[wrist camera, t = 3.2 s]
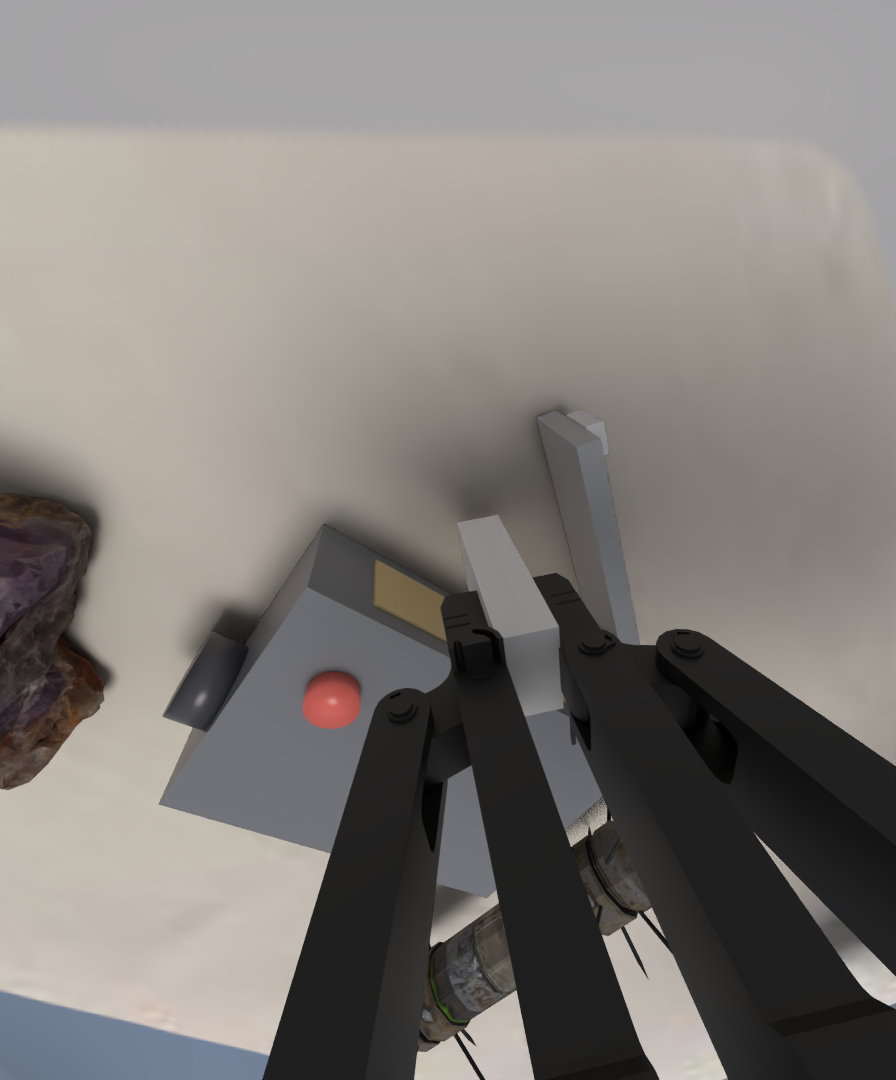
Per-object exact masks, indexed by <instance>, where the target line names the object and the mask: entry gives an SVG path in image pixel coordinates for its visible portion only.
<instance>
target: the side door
mask: <svg viewBox="0 0 896 1080" xmlns="http://www.w3.org/2000/svg"><path fill="white" fill-rule="evenodd" d="M536 418H537V422H538V426H539V430H540V434H541V438H542V442H543V446H544V450H545V454H546V458H547V462H548V466H549V469H550V473H551V477H552V481H553V485H554V489H555V493H556V497H557V501H558V505H559V509H560V513H561V517H562V521H563V525H564V529H565V533H566V537H567V541H568V545H569V549H570V553H571V557H572V561H573V565H574V569H575V573H576V577H577V581H578V585H579V589H580V593H581V597H582V601H583V603H584V604H585V606H586V607H587V609H588V610H589V612H590V613H591V615H592V616H593V618H594V619H595V621H596V622H597V624H598V625H599V627H600V628H601V629H603V630H606V631H608V632H610V633H612V634H614V635H615V636H616V637H617V638H618V639H619V640H620V641H621V642H622V643H625V644H632V645H640V642H639V636H638V631H637V626H636V621H635V615H634V610H633V605H632V600H631V594H630V589H629V584H628V579H627V573H626V568H625V563H624V558H623V552H622V547H621V542H620V537H619V531H618V526H617V521H616V516H615V510H614V505H613V500H612V495H611V489H610V484H609V479H608V473H607V468H606V463H605V458H604V455H607V454H610V453H609V448H608V442H607V437H606V432H605V426H604V421H603V420H601V419H599V418H598V417H596V416H594V415H592V414H590V413H588V412H586V411H585V410H583V409H579V410H577V411H574V412H571V413H569V414H566V416H564V415H562V414H561V413H559V412H558V411H556V410H555V411H552V412H550V413H547V414H544V415H542V416H539V417H536Z"/></svg>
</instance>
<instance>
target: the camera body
mask: <svg viewBox="0 0 896 1080" xmlns="http://www.w3.org/2000/svg"><path fill="white" fill-rule="evenodd" d="M446 596H451V594H450V593H448V592H446V591H444V590H442V589H441V588H439V587H437V586H435V585H433V584H432V583H430V582H428V581H426V580H424V579H423V578H421V577H419V576H417V575H415V574H414V573H412V572H410V571H408V570H406V569H404V568H403V567H401V566H399V565H397V564H395V563H394V562H392V561H390V560H388V559H386V558H385V557H383V556H381V555H379V554H377V553H376V552H374V551H372V550H370V549H368V548H367V547H365V546H363V545H361V544H359V543H358V542H356V541H354V540H352V539H350V538H349V537H347V536H345V535H343V534H341V533H339V532H338V531H336V530H334V529H332V528H330V527H329V526H327V525H325V524H324V525H323V526H322V528H321V529H320V531H319V532H318V534H317V535H316V537H315V538H314V540H313V541H312V543H311V544H310V546H309V547H308V549H307V550H306V552H305V553H304V555H303V556H302V558H301V559H300V561H299V562H298V564H297V565H296V567H295V568H294V570H293V571H292V573H291V574H290V576H289V577H288V579H287V581H286V582H285V584H284V585H283V587H282V588H281V590H280V591H279V593H278V594H277V596H276V597H275V599H274V600H273V602H272V603H271V605H270V606H269V608H268V609H267V611H266V612H265V614H264V615H263V617H262V618H261V620H260V621H259V623H258V624H257V626H256V627H255V629H254V630H253V632H252V633H251V635H250V636H249V638H248V639H247V641H246V642H245V644H244V645H243V644H241V643H239V642H236V641H234V640H232V639H229V638H227V637H225V636H222V635H220V634H218V633H215V632H213V631H211V633H210V634H209V635H208V637H207V638H206V640H205V642H204V643H203V645H202V646H201V648H200V650H199V651H198V653H197V655H196V656H195V658H194V660H193V661H192V663H191V665H190V666H189V668H188V670H187V672H186V673H185V675H184V677H183V679H182V680H181V682H180V684H179V686H178V687H177V689H176V691H175V693H174V695H173V696H172V698H171V700H170V702H169V704H168V706H167V708H166V710H165V712H164V714H163V717H165V718H168V719H171V720H173V721H176V722H179V723H182V724H185V725H188V726H191V727H193V729H192V731H191V733H190V735H189V737H188V740H187V742H186V744H185V746H184V749H183V751H182V753H181V755H180V758H179V760H178V762H177V764H176V767H175V769H174V771H173V773H172V776H171V778H170V780H169V782H168V784H167V787H166V789H165V791H164V793H163V796H162V798H161V800H160V802H159V805H163V806H166V807H170V808H173V809H177V810H180V811H184V812H187V813H191V814H194V815H198V816H201V817H205V818H208V819H212V820H215V821H219V822H222V823H226V824H229V825H233V826H236V827H240V828H243V829H247V830H250V831H254V832H257V833H261V834H264V835H268V836H271V837H275V838H278V839H282V840H285V841H289V842H292V843H296V844H299V845H303V846H306V847H310V848H313V849H317V850H320V851H324V852H327V853H331V851H332V848H333V845H334V841H335V838H336V835H337V831H338V828H339V825H340V822H341V818H342V815H343V812H344V808H345V805H346V802H347V798H348V795H349V792H350V788H351V785H352V782H353V779H354V775H355V772H356V769H357V765H358V762H359V759H360V755H361V752H362V749H363V746H364V742H365V739H366V736H367V732H368V729H369V726H370V722H371V719H372V716H373V713H374V710H375V708H376V706H377V704H378V702H379V701H380V700H381V699H382V698H383V697H384V696H386V695H387V694H389V693H391V692H393V691H395V690H397V689H403V688H413V689H418V690H420V691H422V692H423V693H427V692H429V691H431V690H433V689H435V688H436V687H438V686H439V685H441V684H442V683H443V682H444V681H445V680H446V678H447V677H448V675H449V674H450V670H451V660H450V655H449V650H448V644H447V639H446V634H445V629H444V624H443V619H442V614H441V609H440V607H441V605H442V603H443V600H444V598H445V597H446ZM563 706H564V708H562V709H558V710H553V711H548V712H544V713H539V714H535V715H530V716H525V718H526V721H527V724H528V727H529V729H530V732H531V735H532V738H533V741H534V744H535V747H536V749H537V752H538V755H539V758H540V761H541V764H542V766H543V769H544V772H545V775H546V778H547V781H548V784H549V786H550V789H551V792H552V795H553V798H554V801H555V803H556V806H557V809H558V812H559V815H560V818H561V821H562V823H563V826H564V829H566V828H567V827H568V826H569V825H571V824H572V823H573V822H574V821H575V820H576V819H577V818H579V817H580V816H581V815H582V814H583V813H584V812H585V811H587V810H588V809H589V808H590V807H591V806H592V805H593V804H595V803H596V802H597V801H598V800H599V799H600V798H601V797H603V796H602V794H601V791H600V789H599V787H598V785H597V782H596V780H595V778H594V776H593V773H592V771H591V769H590V767H589V764H588V762H587V760H586V758H585V755H584V753H583V751H582V749H581V746H580V744H579V742H578V740H577V737H576V745H572V743H571V737H570V717H569V706H568V704H567V702H566V700H565V698H564V696H563ZM436 884H440V885H443V886H447V887H450V888H454V889H457V890H461V891H464V892H468V893H471V894H475V895H478V896H482V897H485V898H487V897H488V896H490V895H491V894H492V893H493V892H494V891H495V890H496V885H495V880H494V875H493V870H492V865H491V860H490V855H489V850H488V845H487V840H486V835H485V830H484V825H483V820H482V815H481V810H480V805H479V800H478V795H477V790H476V785H475V780H474V775H473V770H472V765H471V766H469V767H468V768H466V769H464V770H462V771H461V772H459V773H457V774H455V775H454V776H452V777H450V778H449V779H448V786H447V795H446V804H445V812H444V821H443V830H442V839H441V847H440V856H439V865H438V873H437V882H436Z"/></svg>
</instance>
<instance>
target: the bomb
mask: <svg viewBox="0 0 896 1080" xmlns="http://www.w3.org/2000/svg"><path fill="white" fill-rule="evenodd" d="M571 849H572V852H573V855H574V858H575V860H576V863H577V866H578V869H579V872H580V875H581V877H582V880H583V883H584V886H585V889H586V892H587V895H588V897H589V900H590V903H591V906H592V909H593V912H594V915H595V917H596V920H597V923H598V926H599V929H600V932H601V934H602V935H606V936H609V935H611V934H612V933H614V932H615V931H617V930H619V929H620V928H621V929H622V931H623V933H624V935H625V938H626V940H627V942H628V944H629V946H630V948H631V950H632V952H633V954H634V956H635V958H636V960H637V962H638V964H639V966H640V967H641V969H642V970H643V972H644V973H645V975H646V976H647V974H646V972H645V969H644V967H643V964H642V962H641V960H640V957H639V955H638V953H637V951H636V949H635V947H634V945H633V943H632V941H631V939H630V937H629V935H628V933H627V931H626V929H625V927H624V926H625V925H626V924H628V923H629V922H631V921H633V920H634V919H636V918H637V914H638V913H639V914H640V915H641V916H642V918H643V919H644V920H645V921H646V922H647V924H648V925H649V926H650V927H651V929H652V930H653V931H654V932H655V933H656V935H657V936H658V937H659V938H660V939H661V941H662V942H663V943H664V944H665V946H666V947H667V948H668V949H669V950H670V952H671V953H672V951H671V949H670V947H669V944H668V942H667V940H666V939H665V938H664V936H663V935H662V934H661V933H660V932H659V931H658V929H657V928H656V927H655V926H654V925H653V923H652V922H651V921H650V920H649V919H648V918H647V916H646V915H645V914H644V912H645V911H647V910H648V909H650V908H651V907H652V906H651V904H650V902H649V899H648V897H647V895H646V893H645V890H644V888H643V886H642V884H641V881H640V879H639V877H638V875H637V872H636V870H635V868H634V866H633V863H632V861H631V859H630V857H629V854H628V852H627V850H626V848H625V845H624V843H623V841H622V839H621V836H620V834H619V832H618V830H617V827H616V825H615V823H614V822H613V821H611V814H610V812H609V809H608V807H607V822H606V823H605V824H604V825H602V826H601V827H599V828H598V829H597V830H595V831H594V833H593V835H591V831H590V827H589V829H588V835H587V836H586V837H584V838H583V839H582V840H580V841H579V842H577V843H576V844H575V845H573V846H572V847H571ZM672 954H673V953H672ZM647 978H648V977H647ZM648 980H649V979H648ZM516 990H517V989H516V984H515V979H514V974H513V969H512V964H511V959H510V954H509V949H508V944H507V939H506V934H505V929H504V924H503V919H502V914H501V909H500V905H499V904H497V905H496V906H494V907H493V908H492V909H490V910H489V911H487V912H486V913H485V914H483V915H482V916H480V917H479V918H478V919H476V920H475V921H473V922H472V923H471V924H469V925H468V926H466V927H465V928H464V929H462V930H461V931H459V932H458V933H457V934H455V935H454V936H452V937H451V938H450V939H448V940H447V941H445V942H444V943H443V942H438V943H437V944H436V945H434V946H433V947H431V946H430V943H429V952H428V961H427V969H426V978H425V987H424V995H423V1004H422V1013H421V1022H420V1030H419V1039H418V1048H417V1052H418V1051H421V1052H427V1051H429V1050H430V1049H432V1048H433V1047H435V1046H436V1045H438V1044H439V1043H440V1042H441V1041H445V1040H447V1039H449V1038H450V1037H452V1036H453V1035H454V1037H455V1039H456V1040H457V1042H458V1044H459V1045H460V1047H461V1049H462V1050H463V1052H464V1054H465V1055H466V1057H467V1059H468V1060H469V1062H470V1064H471V1065H472V1067H473V1069H474V1070H475V1072H476V1073H477V1075H478V1077H479V1078H480V1080H485V1079H484V1077H483V1075H482V1074H481V1072H480V1070H479V1069H478V1067H477V1065H476V1064H475V1062H474V1060H473V1059H472V1057H471V1056H470V1054H469V1052H468V1051H467V1049H466V1047H465V1046H464V1044H463V1042H462V1041H461V1039H460V1037H459V1036H458V1034H457V1033H458V1032H459V1031H461V1032H462V1033H463V1034H464V1035H465V1037H466V1038H467V1039H468V1040H469V1041H470V1042H471V1043H473V1044H474V1045H475V1043H474V1041H473V1040H472V1038H471V1036H470V1035H469V1034H468V1033H467V1032H466V1031H465V1030H464V1028H466V1027H467V1025H468V1024H469V1022H470V1020H471V1019H472V1018H474V1017H475V1016H477V1015H478V1014H480V1013H482V1012H483V1011H485V1010H486V1009H488V1008H489V1007H491V1006H492V1005H494V1004H495V1003H497V1002H499V1001H500V1000H502V999H503V998H505V997H506V996H508V995H509V994H511V993H513V992H514V991H516ZM475 1046H476V1045H475ZM476 1047H477V1046H476Z"/></svg>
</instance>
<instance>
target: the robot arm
mask: <svg viewBox="0 0 896 1080" xmlns="http://www.w3.org/2000/svg"><path fill="white" fill-rule="evenodd" d="M457 526H458V533H459V539H460V545H461V551H462V557H463V563H464V569H465V576H466V582H467V587H468V590H469V592H466V593H461V594H456V595H451V596H446V597H445V598H444V600H443V603H442V605H441V607H440V609H441V614H442V619H443V624H444V629H445V634H446V639H447V644H448V650H449V655H450V660H451V670H450V674H449V675H448V677H447V678H446V680H445V681H444V682H443V683H442V684H441V685H439V686H438V687H436V688H435V689H433V690H431V691H429V692H427V693H423V692H422V691H420V690H418V689H413V688H403V689H397V690H395V691H393V692H391V693H389V694H387V695H386V696H384V697H383V698H382V699H381V700H380V701H379V702H378V704H377V706H376V708H375V710H374V713H373V716H372V719H371V722H370V726H369V729H368V732H367V736H366V739H365V742H364V746H363V749H362V752H361V755H360V759H359V762H358V765H357V769H356V772H355V775H354V779H353V782H352V785H351V788H350V792H349V795H348V798H347V802H346V805H345V808H344V812H343V815H342V818H341V822H340V825H339V828H338V831H337V835H336V838H335V841H334V845H333V848H332V851H331V855H330V858H329V861H328V864H327V868H326V871H325V874H324V878H323V881H322V884H321V888H320V891H319V894H318V897H317V901H316V904H315V907H314V911H313V914H312V917H311V921H310V924H309V927H308V930H307V934H306V937H305V940H304V944H303V947H302V950H301V954H300V957H299V960H298V964H297V967H296V970H295V973H294V977H293V980H292V983H291V987H290V990H289V993H288V997H287V1000H286V1003H285V1006H284V1010H283V1013H282V1016H281V1020H280V1023H279V1026H278V1030H277V1033H276V1036H275V1039H274V1043H273V1046H272V1049H271V1053H270V1056H269V1059H268V1063H267V1066H266V1069H265V1073H264V1076H263V1079H262V1080H414V1074H415V1065H416V1056H417V1048H418V1039H419V1030H420V1022H421V1013H422V1004H423V995H424V987H425V978H426V969H427V961H428V952H429V943H430V934H431V926H432V917H433V908H434V900H435V891H436V882H437V873H438V865H439V856H440V847H441V839H442V830H443V821H444V812H445V804H446V795H447V786H448V779H449V778H450V777H452V776H454V775H455V774H457V773H459V772H461V771H462V770H464V769H466V768H468V767H469V766H471V765H472V770H473V775H474V780H475V785H476V790H477V795H478V800H479V805H480V810H481V815H482V820H483V825H484V830H485V835H486V840H487V845H488V850H489V855H490V860H491V865H492V870H493V875H494V880H495V885H496V890H497V895H498V900H499V905H500V909H501V914H502V919H503V924H504V929H505V934H506V939H507V944H508V949H509V954H510V959H511V964H512V969H513V974H514V979H515V984H516V989H517V994H518V999H519V1004H520V1009H521V1014H522V1019H523V1024H524V1029H525V1034H526V1039H527V1044H528V1049H529V1054H530V1059H531V1064H532V1069H533V1074H534V1079H535V1080H659V1077H658V1075H657V1073H656V1071H655V1069H654V1067H653V1066H652V1064H651V1063H650V1061H649V1060H648V1058H647V1057H646V1055H645V1053H644V1051H643V1049H642V1046H641V1044H640V1042H639V1039H638V1036H637V1034H636V1031H635V1028H634V1026H633V1023H632V1020H631V1017H630V1014H629V1011H628V1008H627V1006H626V1003H625V1000H624V997H623V994H622V991H621V989H620V986H619V983H618V980H617V977H616V974H615V971H614V969H613V966H612V963H611V960H610V957H609V954H608V952H607V949H606V946H605V943H604V940H603V937H602V934H601V932H600V929H599V926H598V923H597V920H596V917H595V915H594V912H593V909H592V906H591V903H590V900H589V897H588V895H587V892H586V889H585V886H584V883H583V880H582V877H581V875H580V872H579V869H578V866H577V863H576V860H575V858H574V855H573V852H572V849H571V846H570V843H569V840H568V838H567V835H566V832H565V829H564V826H563V823H562V821H561V818H560V815H559V812H558V809H557V806H556V803H555V801H554V798H553V795H552V792H551V789H550V786H549V784H548V781H547V778H546V775H545V772H544V769H543V766H542V764H541V761H540V758H539V755H538V752H537V749H536V747H535V744H534V741H533V738H532V735H531V732H530V729H529V727H528V724H527V721H526V718H525V716H530V715H535V714H539V713H544V712H548V711H553V710H558V709H562V708H564V706H563V696H564V698H565V700H566V702H567V704H568V706H569V717H570V737H571V743H572V745H576V737H577V740H578V742H579V744H580V746H581V749H582V751H583V753H584V755H585V758H586V760H587V762H588V764H589V767H590V769H591V771H592V773H593V776H594V778H595V780H596V782H597V785H598V787H599V789H600V791H601V794H602V796H603V798H604V800H605V803H606V805H607V807H608V809H609V812H610V814H611V816H612V818H613V821H614V823H615V825H616V827H617V830H618V832H619V834H620V836H621V839H622V841H623V843H624V845H625V848H626V850H627V852H628V854H629V857H630V859H631V861H632V863H633V866H634V868H635V870H636V872H637V875H638V877H639V879H640V881H641V884H642V886H643V888H644V890H645V893H646V895H647V897H648V899H649V902H650V904H651V906H652V908H653V911H654V913H655V915H656V917H657V920H658V922H659V924H660V926H661V929H662V931H663V933H664V935H665V938H666V940H667V942H668V944H669V947H670V949H671V951H672V953H673V956H674V958H675V960H676V962H677V965H678V967H679V969H680V971H681V974H682V976H683V978H684V980H685V983H686V985H687V987H688V989H689V992H690V994H691V996H692V998H693V1001H694V1003H695V1005H696V1007H697V1010H698V1012H699V1014H700V1016H701V1019H702V1021H703V1023H704V1025H705V1028H706V1030H707V1032H708V1034H709V1037H710V1039H711V1041H712V1043H713V1046H714V1048H715V1050H716V1052H717V1055H718V1057H719V1059H720V1061H721V1064H722V1066H723V1068H724V1070H725V1073H726V1075H727V1077H728V1080H896V1009H894V1008H892V1007H890V1006H888V1005H886V1004H884V1003H882V1002H881V1001H879V1000H877V999H875V998H873V997H872V996H871V995H870V994H869V993H868V992H866V991H865V990H864V989H863V988H862V986H861V985H860V984H859V983H858V981H857V980H856V979H855V977H854V976H853V975H852V973H851V972H850V971H849V969H848V968H847V966H846V965H845V963H844V962H843V961H842V959H841V958H840V956H839V955H838V953H837V952H836V950H835V949H834V948H833V946H832V945H831V943H830V942H829V940H828V939H827V938H826V936H825V935H824V933H823V932H822V930H821V929H820V927H819V926H818V925H817V923H816V922H815V920H814V919H813V917H812V916H811V915H810V913H809V912H808V910H807V909H806V907H805V906H804V904H803V903H802V902H801V900H800V899H799V897H798V896H797V894H796V893H795V892H794V890H793V889H792V887H791V886H790V884H789V883H788V881H787V880H786V879H785V877H784V876H783V874H782V873H781V871H780V870H779V869H778V867H777V866H776V864H775V863H774V861H773V860H772V858H771V857H770V856H769V854H768V853H767V851H766V850H765V848H764V847H763V846H762V844H761V843H760V841H759V840H758V838H757V837H756V835H757V836H758V837H759V838H760V839H761V840H762V841H763V842H764V843H765V844H766V845H767V846H768V847H769V848H770V849H771V850H772V851H773V852H774V853H775V854H776V855H777V856H778V857H779V858H780V859H781V860H782V861H783V862H784V863H785V864H786V865H787V866H788V867H789V868H790V869H791V871H792V872H793V873H794V874H795V875H796V876H797V877H798V878H799V879H800V880H801V881H802V882H803V883H804V884H805V885H806V886H807V887H808V888H809V889H810V890H811V891H812V892H813V893H814V894H815V895H816V896H817V897H818V898H819V899H820V900H821V901H822V902H823V903H824V904H825V905H826V906H827V907H828V908H829V909H830V910H831V911H832V912H833V913H834V914H835V915H836V916H837V917H838V918H839V919H840V920H841V921H842V922H843V923H844V924H845V925H846V926H847V927H848V928H849V929H850V930H851V931H852V932H853V933H854V934H855V935H856V937H857V938H858V939H859V940H860V941H861V942H862V943H863V944H864V945H865V946H866V947H867V948H868V949H869V950H870V951H871V952H872V953H873V954H874V955H875V956H876V957H877V958H878V959H879V960H880V961H881V962H882V963H883V964H884V965H885V966H886V967H887V968H888V969H889V970H890V971H891V972H892V973H893V974H894V975H895V976H896V766H894V765H893V764H892V763H890V762H889V761H887V760H886V759H884V758H883V757H881V756H880V755H879V754H877V753H876V752H874V751H873V750H871V749H870V748H868V747H867V746H865V745H864V744H863V743H861V742H860V741H858V740H857V739H855V738H854V737H852V736H851V735H850V734H848V733H847V732H845V731H844V730H842V729H841V728H839V727H838V726H837V725H835V724H834V723H832V722H831V721H829V720H828V719H826V718H825V717H824V716H822V715H821V714H819V713H818V712H816V711H815V710H813V709H812V708H810V707H809V706H808V705H806V704H805V703H803V702H802V701H800V700H799V699H797V698H796V697H795V696H793V695H792V694H790V693H789V692H787V691H786V690H784V689H783V688H782V687H780V686H779V685H777V684H776V683H774V682H773V681H771V680H770V679H769V678H767V677H766V676H764V675H763V674H761V673H760V672H758V671H757V670H755V669H754V668H753V667H751V666H750V665H748V664H747V663H745V662H744V661H742V660H741V659H740V658H738V657H737V656H735V655H734V654H732V653H731V652H729V651H728V650H727V649H725V648H724V647H722V646H721V645H719V644H718V643H716V642H715V641H714V640H712V639H711V638H709V637H707V636H705V635H703V634H701V633H699V632H696V631H692V630H688V629H674V630H670V631H666V632H665V633H663V634H662V635H660V636H659V638H658V640H657V642H656V645H632V644H625V643H622V642H621V641H620V640H619V639H618V638H617V637H616V636H615V635H614V634H612V633H610V632H608V631H606V630H603V629H601V628H600V627H599V625H598V624H597V622H596V621H595V619H594V618H593V616H592V615H591V613H590V612H589V610H588V609H587V607H586V606H585V604H584V603H583V601H581V598H580V597H579V595H578V594H577V592H575V589H574V588H573V586H572V585H571V583H570V582H569V580H567V579H565V578H564V577H562V576H560V575H559V574H557V573H553V574H548V575H543V576H538V577H533V578H532V576H531V574H530V573H529V571H528V569H527V567H526V565H525V563H524V562H523V560H522V558H521V556H520V554H519V552H518V551H517V549H516V547H515V545H514V543H513V541H512V540H511V538H510V536H509V534H508V532H507V530H506V529H505V527H504V525H503V523H502V521H501V519H500V518H499V516H498V515H493V516H488V517H483V518H478V519H473V520H468V521H463V522H458V523H457ZM753 832H754V833H755V834H756V835H755V834H754V833H753Z"/></svg>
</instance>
